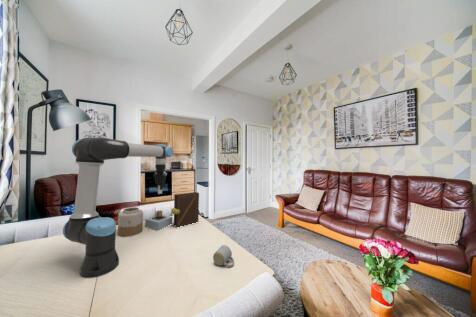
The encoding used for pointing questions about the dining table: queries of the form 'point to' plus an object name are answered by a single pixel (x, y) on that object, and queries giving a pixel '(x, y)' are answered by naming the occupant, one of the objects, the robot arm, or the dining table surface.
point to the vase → (130, 222)
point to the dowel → (158, 214)
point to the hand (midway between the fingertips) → (159, 193)
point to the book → (186, 208)
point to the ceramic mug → (223, 256)
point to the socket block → (158, 222)
